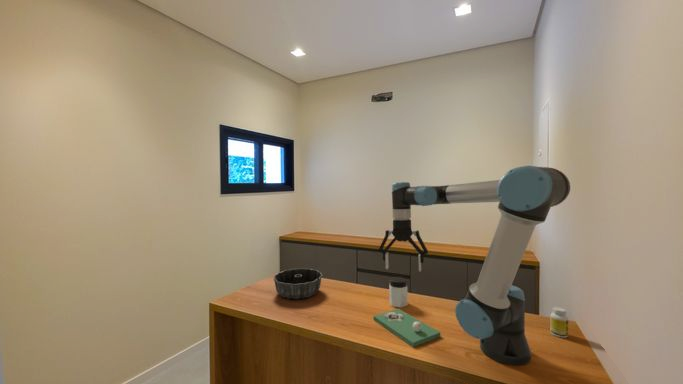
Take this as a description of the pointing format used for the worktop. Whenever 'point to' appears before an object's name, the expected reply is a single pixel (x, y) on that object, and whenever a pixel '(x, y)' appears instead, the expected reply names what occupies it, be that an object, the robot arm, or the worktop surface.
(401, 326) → the mat
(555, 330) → the supplement bottle
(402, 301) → the jar
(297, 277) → the bundt pan
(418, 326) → the ball
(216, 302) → the worktop surface
